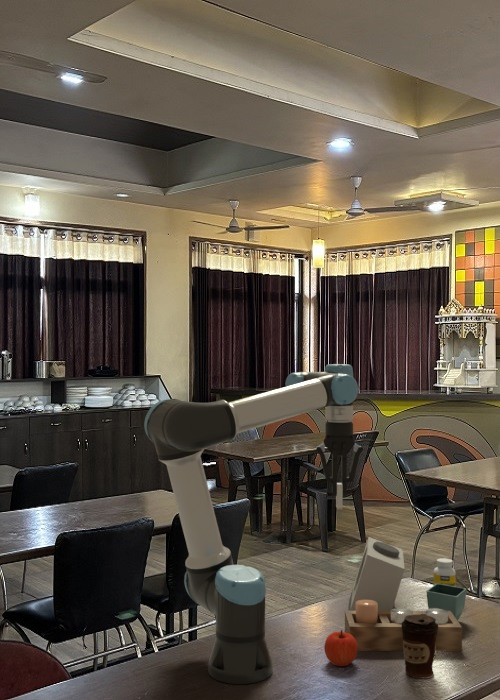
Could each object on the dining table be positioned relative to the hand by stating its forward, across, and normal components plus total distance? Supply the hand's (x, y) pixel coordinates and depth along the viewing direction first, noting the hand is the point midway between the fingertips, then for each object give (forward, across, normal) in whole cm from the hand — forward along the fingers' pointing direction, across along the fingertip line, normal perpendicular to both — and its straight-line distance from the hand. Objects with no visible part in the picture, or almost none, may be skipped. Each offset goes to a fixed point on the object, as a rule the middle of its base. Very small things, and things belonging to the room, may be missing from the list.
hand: (339, 507), depth 214 cm
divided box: (+32, +15, -11) cm, 37 cm away
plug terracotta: (+30, +6, -11) cm, 32 cm away
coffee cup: (+33, +16, -31) cm, 48 cm away
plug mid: (+32, +15, -11) cm, 37 cm away
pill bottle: (+33, +34, +24) cm, 53 cm away
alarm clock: (+33, +11, +11) cm, 36 cm away
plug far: (+32, +24, -11) cm, 41 cm away
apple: (+33, -2, -25) cm, 41 cm away
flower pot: (+33, +30, +4) cm, 45 cm away
